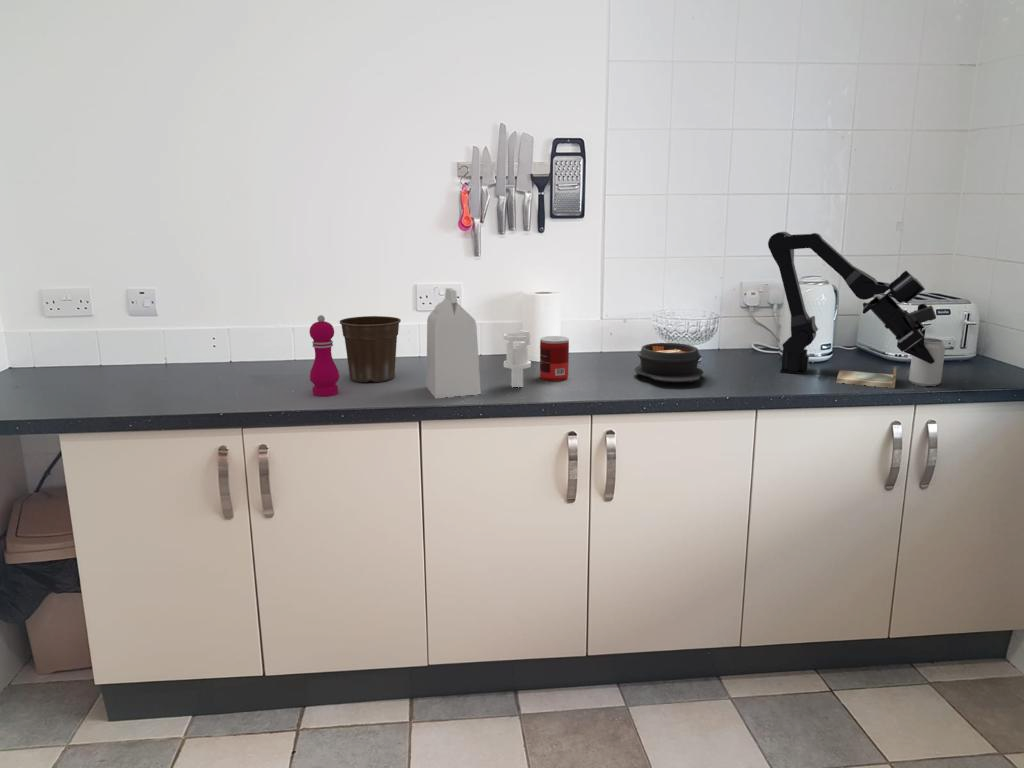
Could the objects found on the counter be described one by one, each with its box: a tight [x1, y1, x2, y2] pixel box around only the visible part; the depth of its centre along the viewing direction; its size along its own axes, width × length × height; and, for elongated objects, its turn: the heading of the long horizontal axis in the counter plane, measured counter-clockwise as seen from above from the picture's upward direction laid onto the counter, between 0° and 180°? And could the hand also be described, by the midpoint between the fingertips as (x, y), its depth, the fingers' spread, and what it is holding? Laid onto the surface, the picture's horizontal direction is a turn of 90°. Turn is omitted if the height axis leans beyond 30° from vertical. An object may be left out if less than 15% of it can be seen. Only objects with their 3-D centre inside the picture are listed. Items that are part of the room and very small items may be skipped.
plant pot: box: [339, 315, 402, 383], centre depth 216 cm, size 16×16×16 cm
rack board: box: [835, 367, 897, 389], centre depth 212 cm, size 14×11×3 cm
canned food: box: [539, 335, 570, 382], centre depth 216 cm, size 8×8×11 cm
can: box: [908, 337, 946, 387], centre depth 208 cm, size 8×8×12 cm
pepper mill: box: [309, 314, 340, 397], centre depth 199 cm, size 7×7×20 cm
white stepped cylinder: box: [503, 329, 532, 389], centre depth 206 cm, size 7×7×15 cm
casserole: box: [634, 342, 704, 383], centre depth 216 cm, size 25×19×8 cm
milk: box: [426, 287, 482, 399], centre depth 200 cm, size 12×12×26 cm
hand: (933, 359), depth 207 cm, fingers closed on can, 7 cm apart
